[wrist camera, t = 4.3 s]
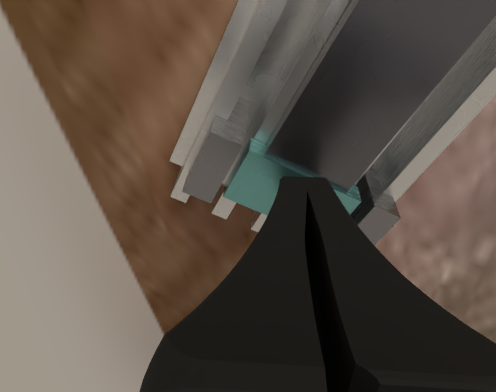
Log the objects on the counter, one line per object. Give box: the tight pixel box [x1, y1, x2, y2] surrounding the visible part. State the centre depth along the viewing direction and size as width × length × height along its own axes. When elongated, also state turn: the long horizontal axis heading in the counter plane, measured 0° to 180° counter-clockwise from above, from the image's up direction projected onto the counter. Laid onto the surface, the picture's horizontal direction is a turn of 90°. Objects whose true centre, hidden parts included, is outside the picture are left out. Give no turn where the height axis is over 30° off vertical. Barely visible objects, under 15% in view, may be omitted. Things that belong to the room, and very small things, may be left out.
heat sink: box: [170, 0, 496, 245], centre depth 12 cm, size 13×8×5 cm, turn 154°
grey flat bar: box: [223, 0, 496, 216], centre depth 11 cm, size 11×4×1 cm, turn 154°
